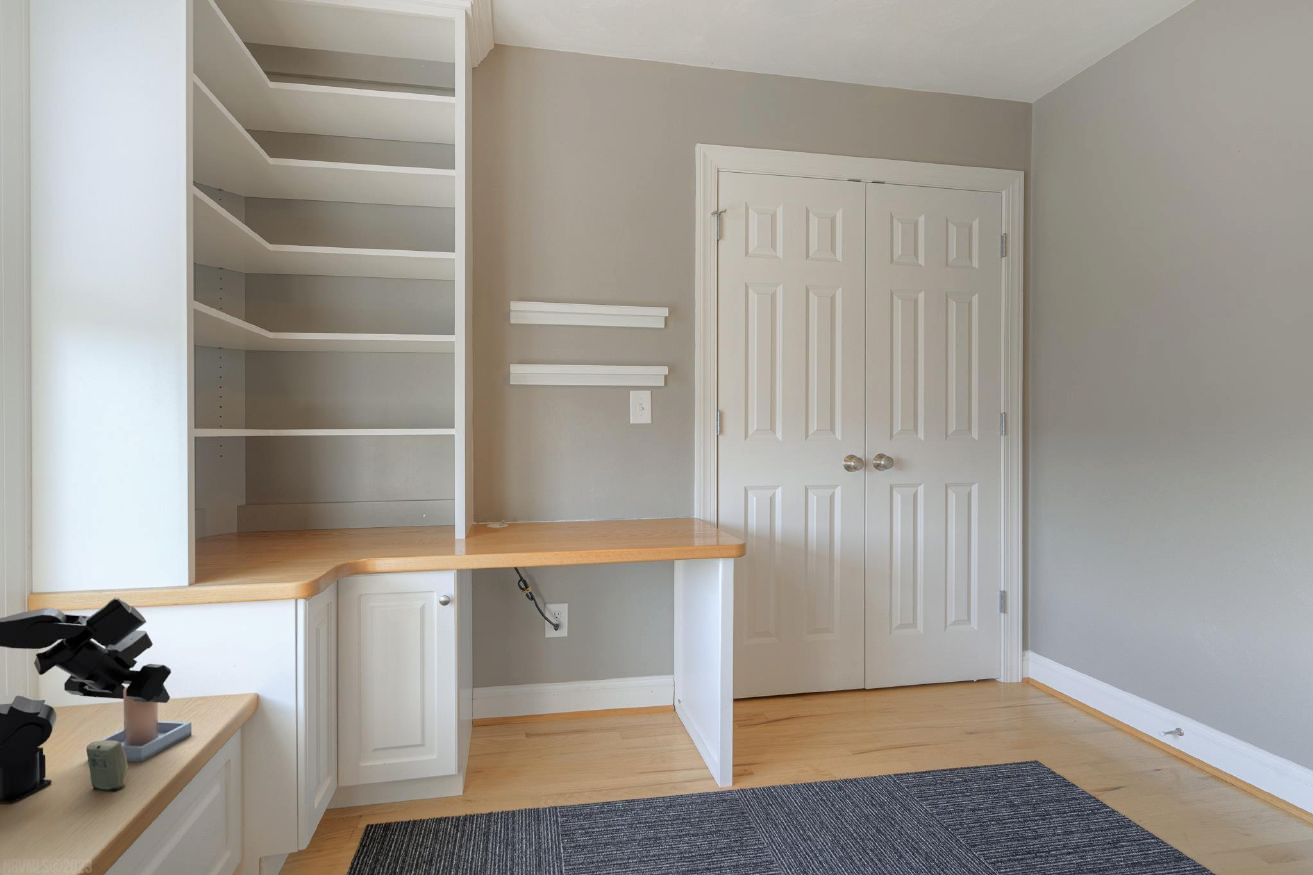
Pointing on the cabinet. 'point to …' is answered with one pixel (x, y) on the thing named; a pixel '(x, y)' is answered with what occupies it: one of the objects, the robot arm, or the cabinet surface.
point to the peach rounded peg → (139, 721)
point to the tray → (166, 737)
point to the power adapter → (107, 765)
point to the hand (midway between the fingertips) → (148, 698)
